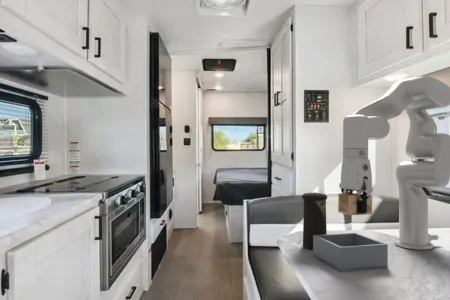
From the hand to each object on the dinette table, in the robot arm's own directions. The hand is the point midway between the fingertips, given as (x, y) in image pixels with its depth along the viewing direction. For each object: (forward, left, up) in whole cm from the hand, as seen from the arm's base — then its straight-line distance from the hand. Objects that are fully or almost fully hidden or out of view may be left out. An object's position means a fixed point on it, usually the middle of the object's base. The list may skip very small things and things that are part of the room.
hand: (354, 211), depth 111 cm
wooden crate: (0, 0, -1) cm, 1 cm away
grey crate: (+2, -1, -16) cm, 16 cm away
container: (+4, -19, -16) cm, 25 cm away
